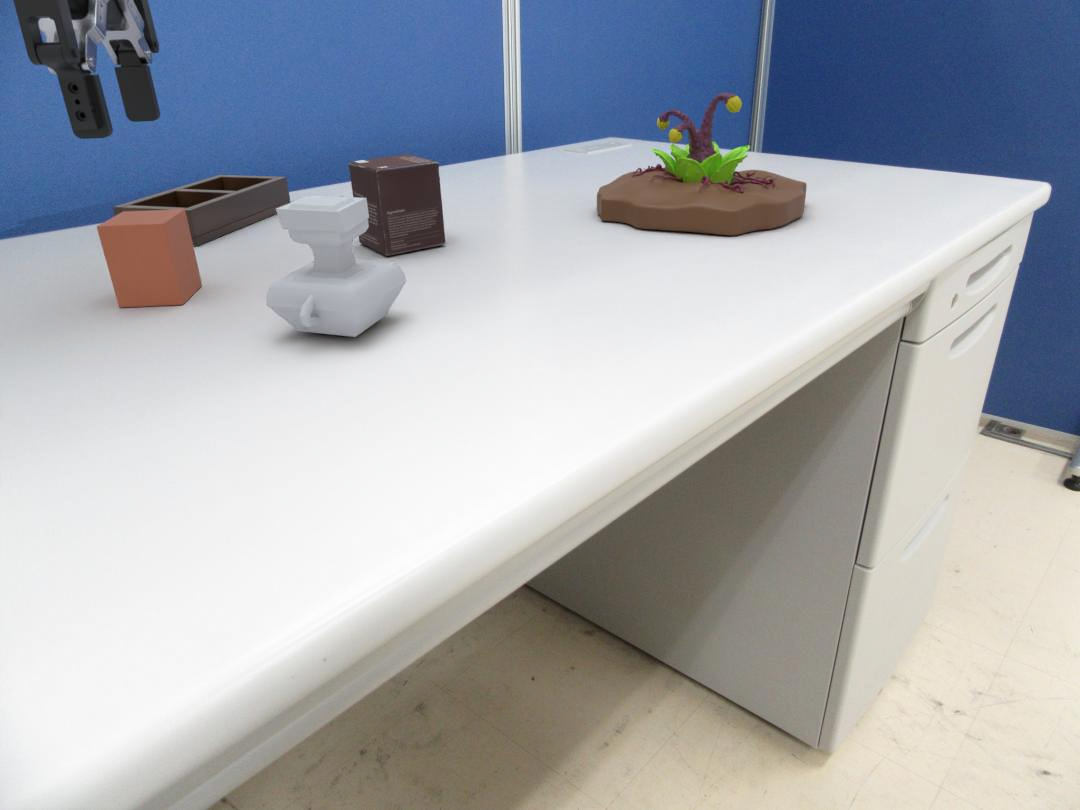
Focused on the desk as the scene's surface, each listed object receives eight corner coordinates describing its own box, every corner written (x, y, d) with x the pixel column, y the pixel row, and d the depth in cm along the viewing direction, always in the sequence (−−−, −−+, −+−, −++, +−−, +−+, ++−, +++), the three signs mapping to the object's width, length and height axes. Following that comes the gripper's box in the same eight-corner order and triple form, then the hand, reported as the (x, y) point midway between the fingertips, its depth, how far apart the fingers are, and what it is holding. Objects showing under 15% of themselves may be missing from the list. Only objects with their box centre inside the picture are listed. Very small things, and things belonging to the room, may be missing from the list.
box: (447, 246, 70) (440, 161, 67) (385, 258, 67) (375, 170, 64) (417, 232, 75) (409, 153, 72) (357, 243, 72) (346, 160, 69)
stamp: (354, 357, 48) (335, 220, 44) (261, 347, 50) (235, 214, 46) (417, 308, 56) (405, 187, 52) (334, 302, 58) (317, 184, 54)
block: (118, 308, 58) (96, 226, 55) (142, 288, 62) (122, 211, 59) (183, 304, 58) (163, 223, 55) (202, 285, 62) (185, 208, 59)
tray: (121, 241, 75) (112, 206, 73) (225, 204, 88) (219, 174, 87) (197, 246, 73) (189, 210, 71) (291, 207, 86) (286, 176, 85)
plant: (760, 245, 68) (774, 107, 63) (568, 220, 78) (567, 99, 73) (827, 200, 83) (843, 86, 78) (658, 184, 93) (662, 81, 88)
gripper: (43, -135, 53) (108, 118, 60) (-94, -182, 41) (11, 146, 48) (156, -138, 54) (208, 114, 61) (56, -184, 41) (137, 141, 48)
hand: (121, 128), depth 54 cm, fingers open, 8 cm apart
